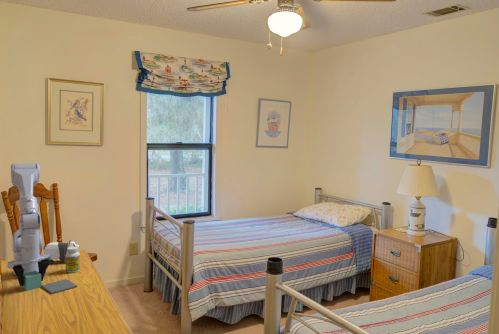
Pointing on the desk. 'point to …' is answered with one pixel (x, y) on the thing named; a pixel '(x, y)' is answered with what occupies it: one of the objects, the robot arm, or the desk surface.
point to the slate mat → (59, 286)
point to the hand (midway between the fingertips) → (31, 282)
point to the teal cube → (31, 280)
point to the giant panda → (59, 250)
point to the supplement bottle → (72, 260)
